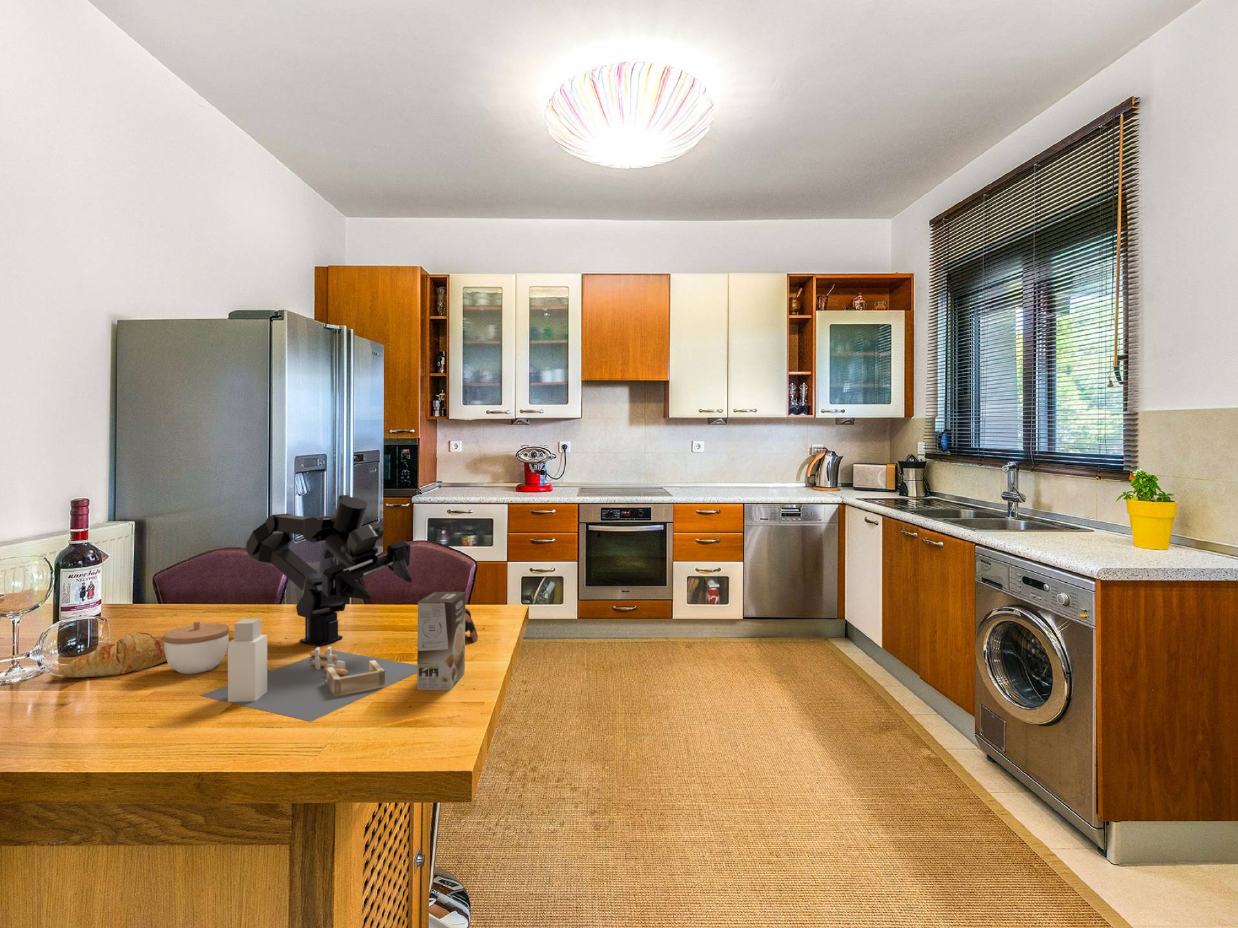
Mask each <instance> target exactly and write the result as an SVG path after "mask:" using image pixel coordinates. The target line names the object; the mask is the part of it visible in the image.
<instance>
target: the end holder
mask: <svg viewBox="0 0 1238 928" xmlns="http://www.w3.org/2000/svg"><path fill="white" fill-rule="evenodd" d="M326 683H327V685H328V686H329V688H330V690H331V691H332V693H333V694H334V696H339V695H345V694H350V693H355V692H361V691H366V690H371V689H376V688H382V687H385V671H384V670H383V669H382V667H381V666H380V665H379V664H378V663H377V662H376V661H375V660H372V661H369V672H368V673H362V674H356V675H351V676H345V677H339V676H338V674H337V673H336V671H335V670H334V668H333V667H330V668H327V680H326ZM385 688H386V687H385Z"/></svg>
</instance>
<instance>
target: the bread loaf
mask: <svg viewBox="0 0 1238 928" xmlns="http://www.w3.org/2000/svg"><path fill="white" fill-rule="evenodd" d="M163 663H167V660H166V657H165V653H164V641H163V636H161V635H157V636H153V635H152V634H149V633H148V632H143V631H142V632H141V631H136V632H135V631H134V632H132V633H129V634H127V635H125V636H124V637H121V638H119V640H118V641H116V642H112V643H108V644H104V645H101V646H100V647H98V648H97V649H96V650H94V651H91V652H90V653H87V654H83V655H80V656H78V657H77V658H75V659H73V660H72V661H71V662H70V663H68V664H64V665H61V666H60V667H58V671H57V672H58V674H59V676H61V677H62V676H63V678H64V677H67V678H88V677H89V678H91V677H92V678H93V677H95V678H96V677H107V676H108V677H109V676H118V675H124V674H127V673H130V672H137V671H143V670H145V669H150V668H152V667H154V666H157V665H159V664H163Z"/></svg>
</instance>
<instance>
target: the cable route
mask: <svg viewBox="0 0 1238 928" xmlns="http://www.w3.org/2000/svg"><path fill="white" fill-rule="evenodd" d="M332 650H333V649H332V646H328V647H327V648H326V651H327V653H323V652H321V647H319V646H318V647H315V650H311V651H310V652H309V657H311V656H314V657H315V660H312V661H311V665H314V666H315V668H316V669H317V670H318V669H320V667H325V668H324V671H325V672H326V675H327V668H330V667H333V668H334V670H335V671H336V673H337V674H340V675H345V676H346V675H347V674H348V670H345V662H344V661H340V660H338V661H336V664H334V663H333V660H336V659H337V655H332ZM320 658H325V659H327V662H323V661H320Z"/></svg>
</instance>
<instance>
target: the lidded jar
mask: <svg viewBox="0 0 1238 928" xmlns="http://www.w3.org/2000/svg"><path fill="white" fill-rule="evenodd" d="M229 633H230V626H229V625H228V624H225V623H219V622H217V623H215V622H209V623H208V622H206V623H201V621H199V620H198V621H194V622H193V624H188V625H184V626H180V627H176V628H175V627H174V628H171V629H169V630H168V631H165V632H164V633H163V635H162V637H163V641H164V653H165V657H166V660H167V661H166V663H167V664H168V665H169V667H170V668H172V670H174V671H175V672H177V673H179V674H185V675H186V674H187V675H188V674H189V675H193V674H198V673H199V674H200V673H203V672H207V671H210V670H213V669H214V668H216V667H217V666H218V665H219V664H220V663H221V662H222V661H223V659H224V658H225V655H226V654H227V653H228V642H230V640H229V637H230V636H229V635H230V634H229Z"/></svg>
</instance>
